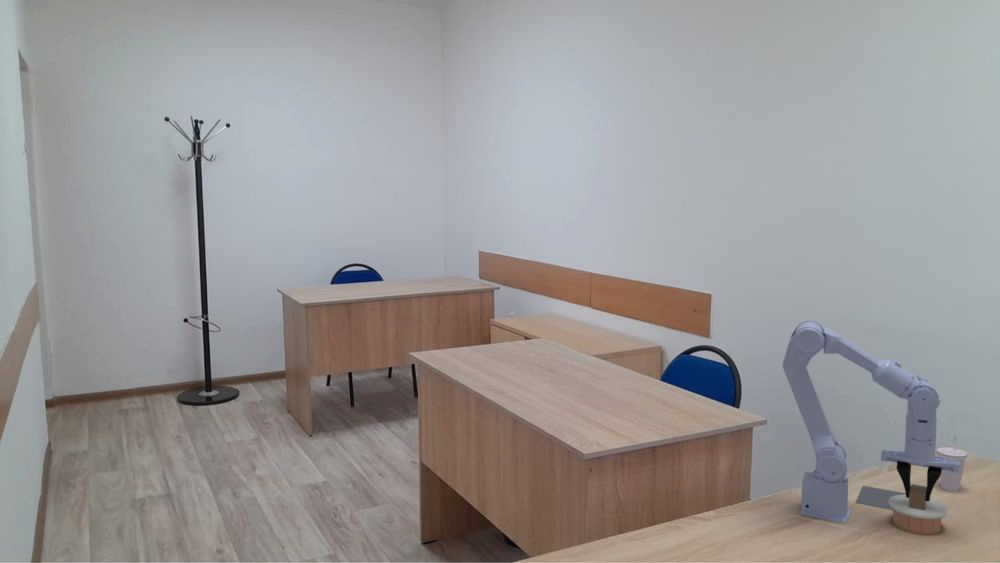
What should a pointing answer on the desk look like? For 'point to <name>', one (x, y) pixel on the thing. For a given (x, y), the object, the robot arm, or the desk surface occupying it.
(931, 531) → the bowl
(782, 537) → the desk surface
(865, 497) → the mat
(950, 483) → the smoothie
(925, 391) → the robot arm
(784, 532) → the desk surface
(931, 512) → the lid
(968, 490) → the desk surface
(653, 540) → the desk surface
